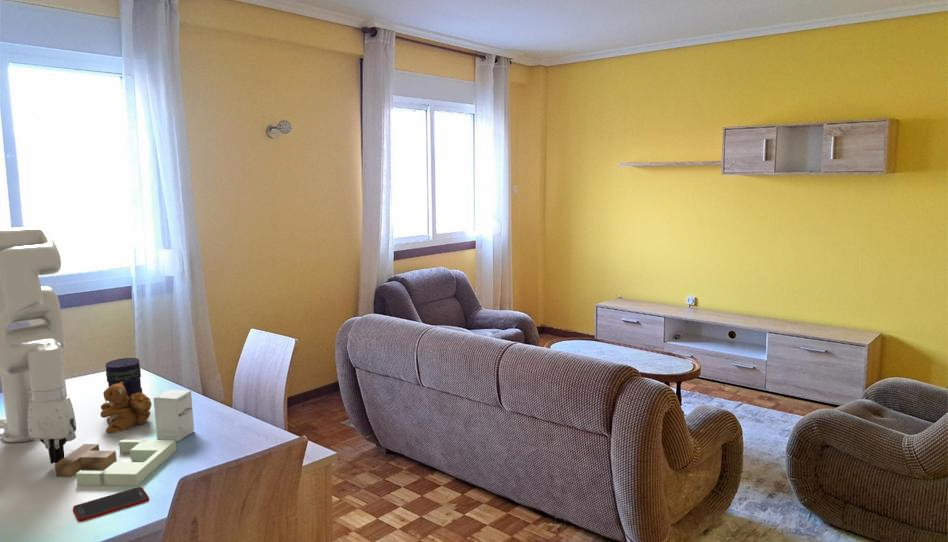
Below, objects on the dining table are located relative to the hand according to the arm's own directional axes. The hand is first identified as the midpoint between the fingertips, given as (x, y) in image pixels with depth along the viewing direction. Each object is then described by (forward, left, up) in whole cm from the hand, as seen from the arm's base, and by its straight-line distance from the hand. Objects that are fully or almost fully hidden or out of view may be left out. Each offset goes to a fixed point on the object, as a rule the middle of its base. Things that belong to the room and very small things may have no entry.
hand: (57, 461), depth 175 cm
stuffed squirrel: (+3, +28, -2) cm, 28 cm away
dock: (+19, 0, -1) cm, 19 cm away
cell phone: (+25, -19, -2) cm, 32 cm away
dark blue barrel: (-6, +42, -2) cm, 42 cm away
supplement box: (+21, +20, -2) cm, 29 cm away
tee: (+9, 0, -1) cm, 9 cm away
